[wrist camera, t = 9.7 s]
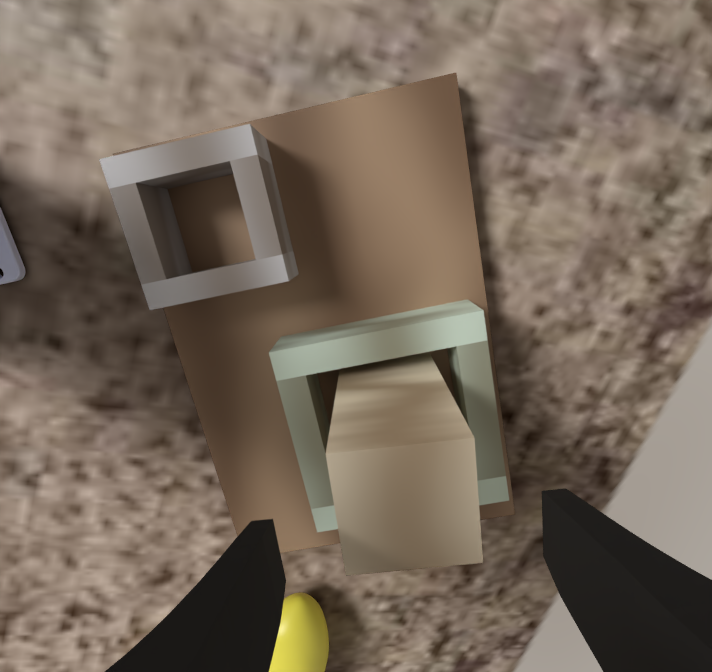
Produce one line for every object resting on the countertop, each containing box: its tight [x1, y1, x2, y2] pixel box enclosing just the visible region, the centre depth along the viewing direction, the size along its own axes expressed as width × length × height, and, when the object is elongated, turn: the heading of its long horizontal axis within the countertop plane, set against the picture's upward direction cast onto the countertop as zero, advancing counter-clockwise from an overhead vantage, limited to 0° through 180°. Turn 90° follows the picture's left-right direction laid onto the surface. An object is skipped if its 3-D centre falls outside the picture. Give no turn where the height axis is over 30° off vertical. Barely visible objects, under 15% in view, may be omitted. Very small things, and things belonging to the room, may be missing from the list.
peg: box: [326, 352, 483, 576], centre depth 16 cm, size 4×4×8 cm
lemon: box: [269, 593, 329, 672], centre depth 22 cm, size 4×8×4 cm, turn 163°
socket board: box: [99, 73, 515, 553], centre depth 18 cm, size 14×20×4 cm
